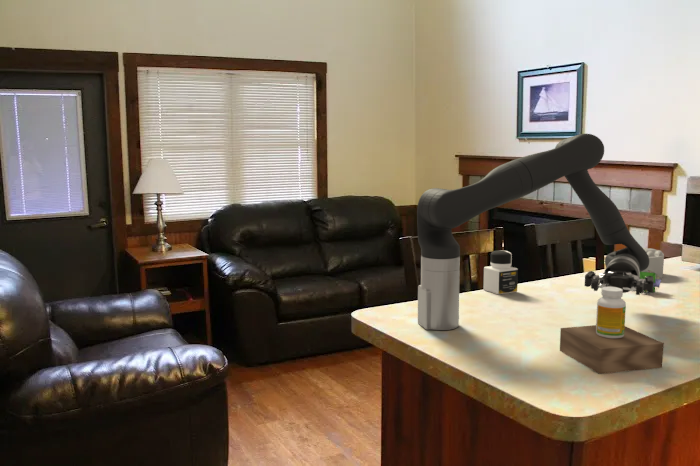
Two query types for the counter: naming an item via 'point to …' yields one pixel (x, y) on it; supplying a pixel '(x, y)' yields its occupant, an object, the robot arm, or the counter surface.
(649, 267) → the lumpy-topped squat cylinder
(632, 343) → the walnut block
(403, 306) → the counter surface
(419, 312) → the robot arm
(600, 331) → the supplement bottle
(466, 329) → the counter surface
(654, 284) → the geometric puzzle
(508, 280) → the medicine bottle
